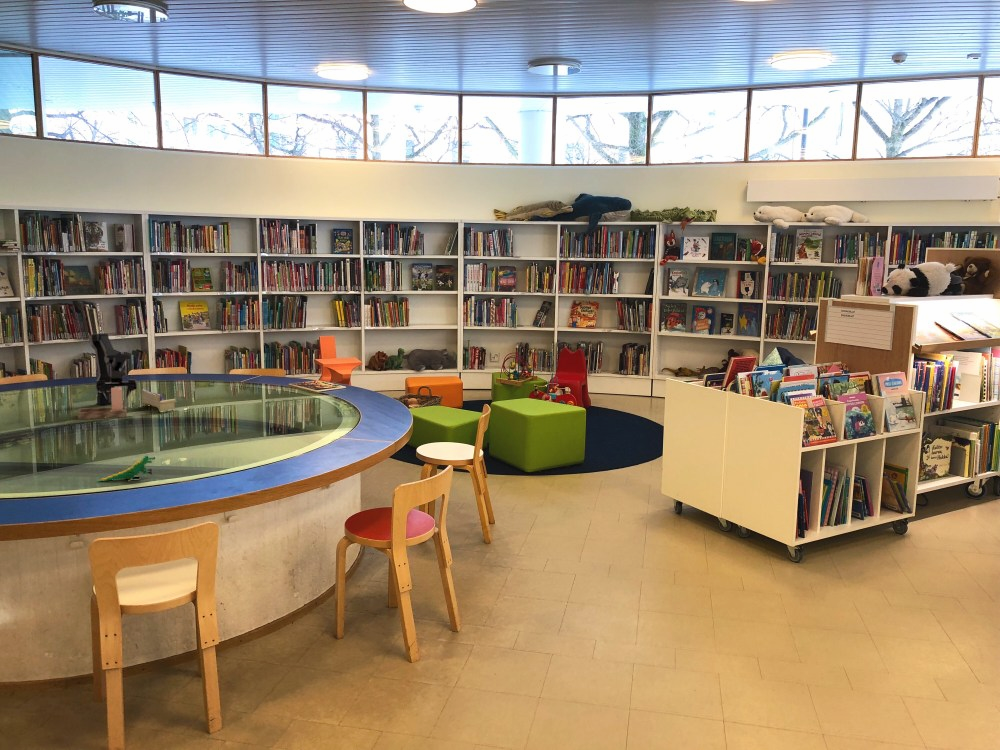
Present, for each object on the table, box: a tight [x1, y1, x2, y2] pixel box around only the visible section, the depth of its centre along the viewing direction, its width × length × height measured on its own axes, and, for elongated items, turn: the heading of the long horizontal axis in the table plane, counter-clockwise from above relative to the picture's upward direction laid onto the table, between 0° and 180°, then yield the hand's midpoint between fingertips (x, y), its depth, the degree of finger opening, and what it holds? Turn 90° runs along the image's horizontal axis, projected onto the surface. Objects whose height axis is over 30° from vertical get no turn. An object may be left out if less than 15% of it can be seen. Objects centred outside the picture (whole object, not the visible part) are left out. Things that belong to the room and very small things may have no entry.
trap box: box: [77, 406, 128, 420], centre depth 407 cm, size 22×10×4 cm, turn 115°
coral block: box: [111, 387, 124, 411], centre depth 409 cm, size 5×5×12 cm
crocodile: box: [97, 455, 156, 482], centre depth 304 cm, size 20×6×9 cm, turn 114°
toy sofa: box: [141, 388, 176, 411], centre depth 429 cm, size 21×9×10 cm, turn 50°
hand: (117, 398), depth 407 cm, fingers open, 9 cm apart
